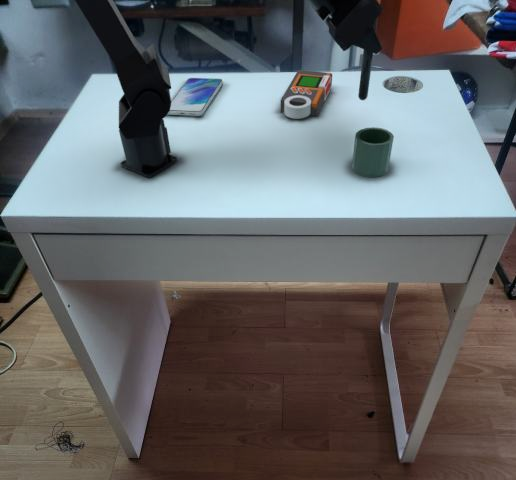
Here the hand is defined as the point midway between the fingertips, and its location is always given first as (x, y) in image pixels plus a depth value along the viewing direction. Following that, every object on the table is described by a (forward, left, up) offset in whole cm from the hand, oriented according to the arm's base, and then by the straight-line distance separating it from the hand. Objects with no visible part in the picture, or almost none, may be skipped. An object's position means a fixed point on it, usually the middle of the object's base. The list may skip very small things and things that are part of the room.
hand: (377, 49), depth 72 cm
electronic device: (+7, +16, -14) cm, 22 cm away
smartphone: (-3, +34, -14) cm, 37 cm away
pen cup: (-7, -5, -14) cm, 16 cm away
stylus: (-1, +1, -7) cm, 7 cm away
